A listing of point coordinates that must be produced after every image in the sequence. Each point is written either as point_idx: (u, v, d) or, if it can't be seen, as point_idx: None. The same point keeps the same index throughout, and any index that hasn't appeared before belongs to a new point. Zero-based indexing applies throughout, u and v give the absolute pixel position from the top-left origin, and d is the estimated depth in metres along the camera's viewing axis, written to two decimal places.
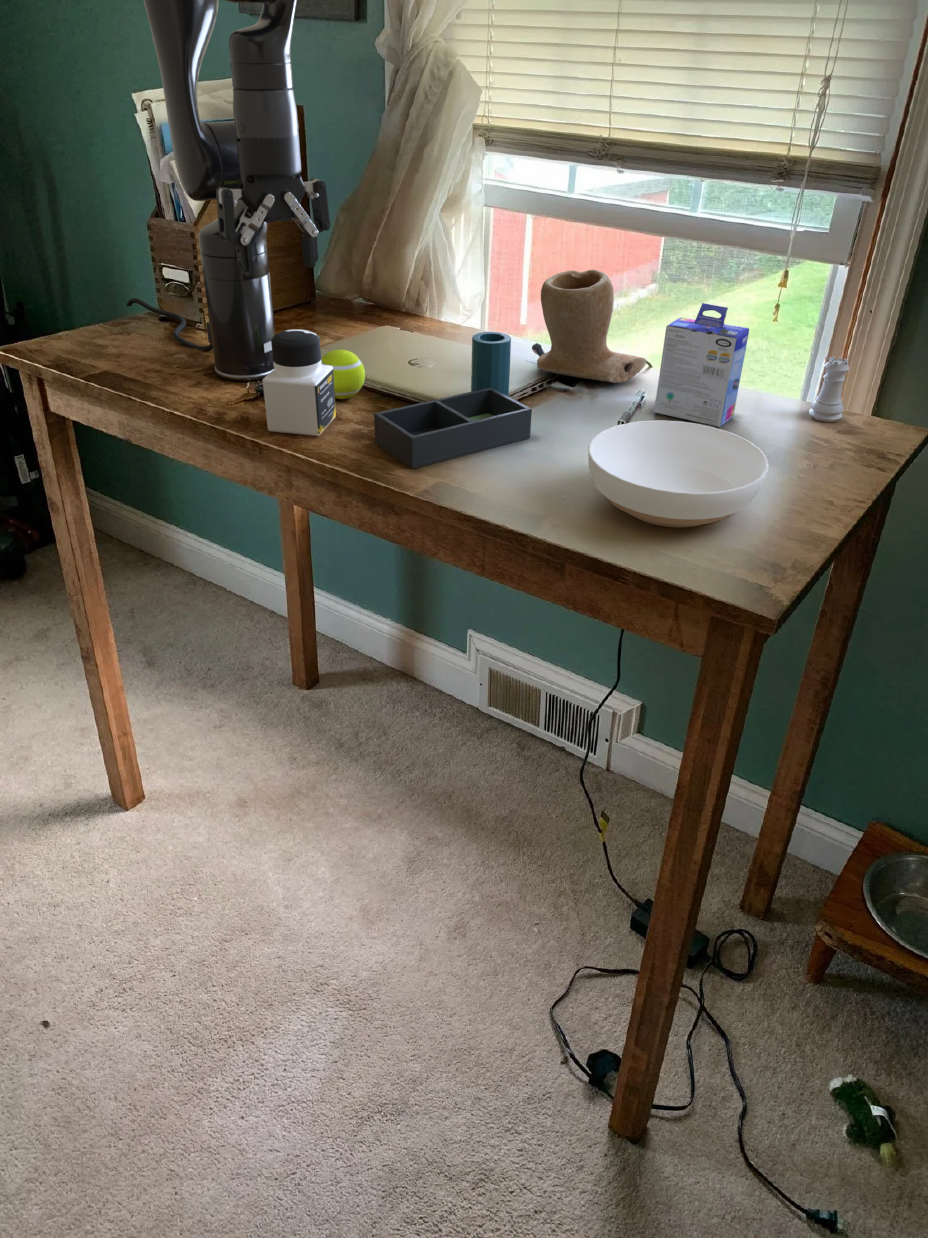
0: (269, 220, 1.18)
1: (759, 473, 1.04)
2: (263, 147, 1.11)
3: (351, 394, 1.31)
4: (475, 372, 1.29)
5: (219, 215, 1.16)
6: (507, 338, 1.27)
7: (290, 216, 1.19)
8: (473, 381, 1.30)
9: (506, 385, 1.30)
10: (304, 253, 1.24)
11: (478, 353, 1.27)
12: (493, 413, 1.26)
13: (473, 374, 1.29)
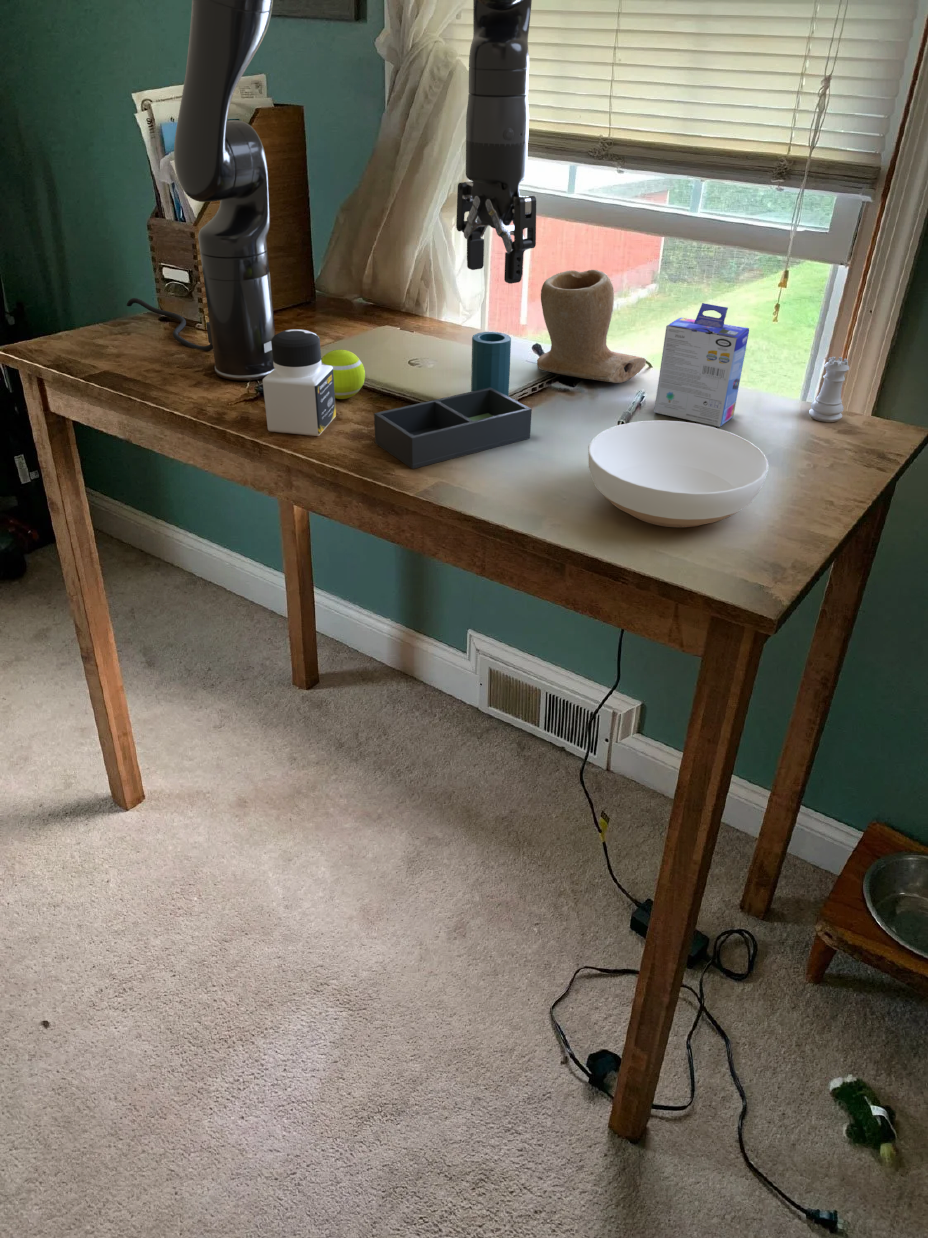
0: (483, 222, 1.20)
1: (759, 473, 1.04)
2: (467, 149, 1.15)
3: (351, 394, 1.31)
4: (475, 372, 1.29)
5: None
6: (507, 338, 1.27)
7: None
8: (473, 381, 1.30)
9: (506, 385, 1.30)
10: None
11: (478, 353, 1.27)
12: (493, 413, 1.26)
13: (473, 374, 1.29)
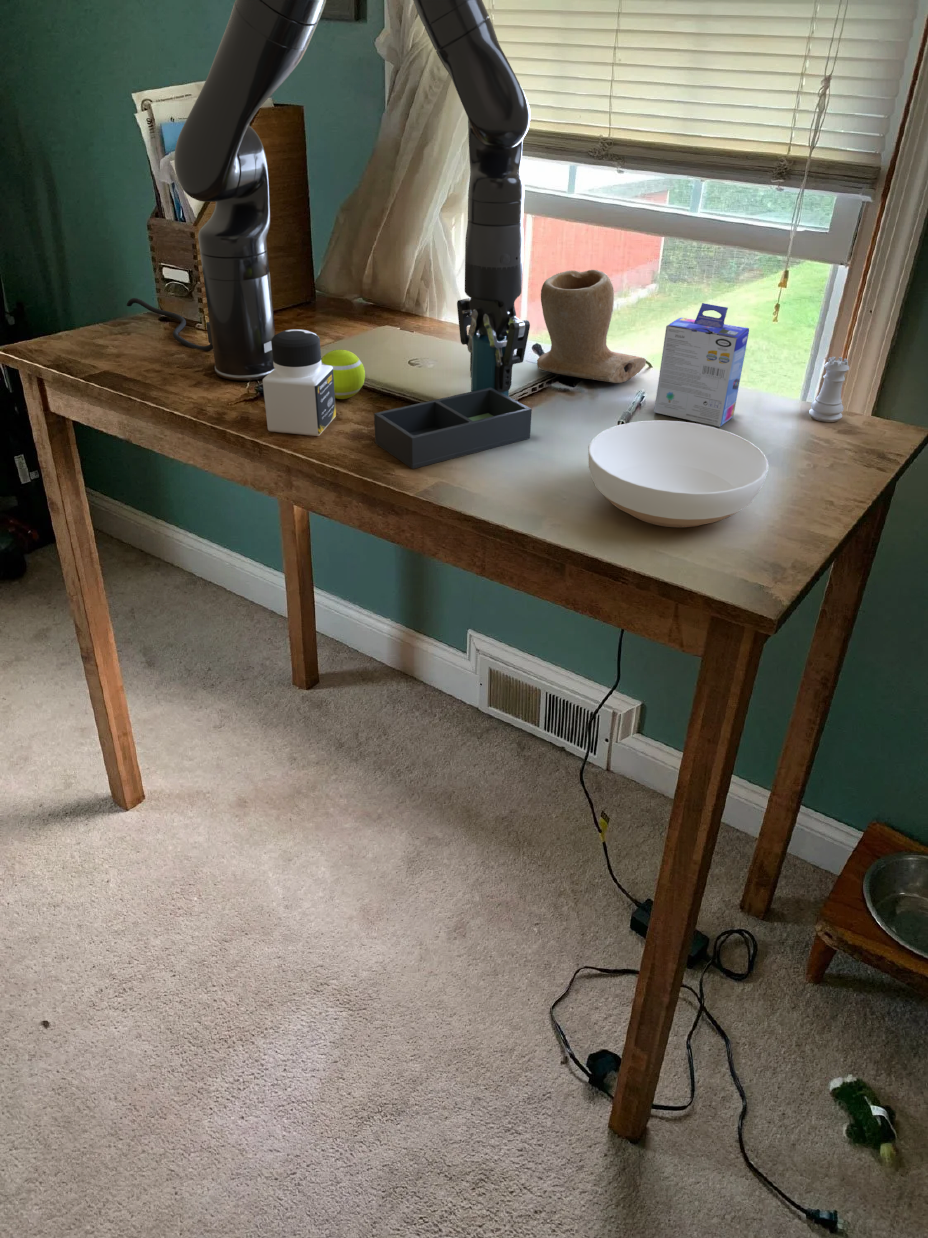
0: (481, 332, 1.28)
1: (759, 473, 1.04)
2: (465, 268, 1.23)
3: (351, 394, 1.31)
4: (475, 372, 1.29)
5: None
6: None
7: None
8: (473, 381, 1.30)
9: None
10: None
11: (478, 353, 1.27)
12: (493, 413, 1.26)
13: (473, 374, 1.29)
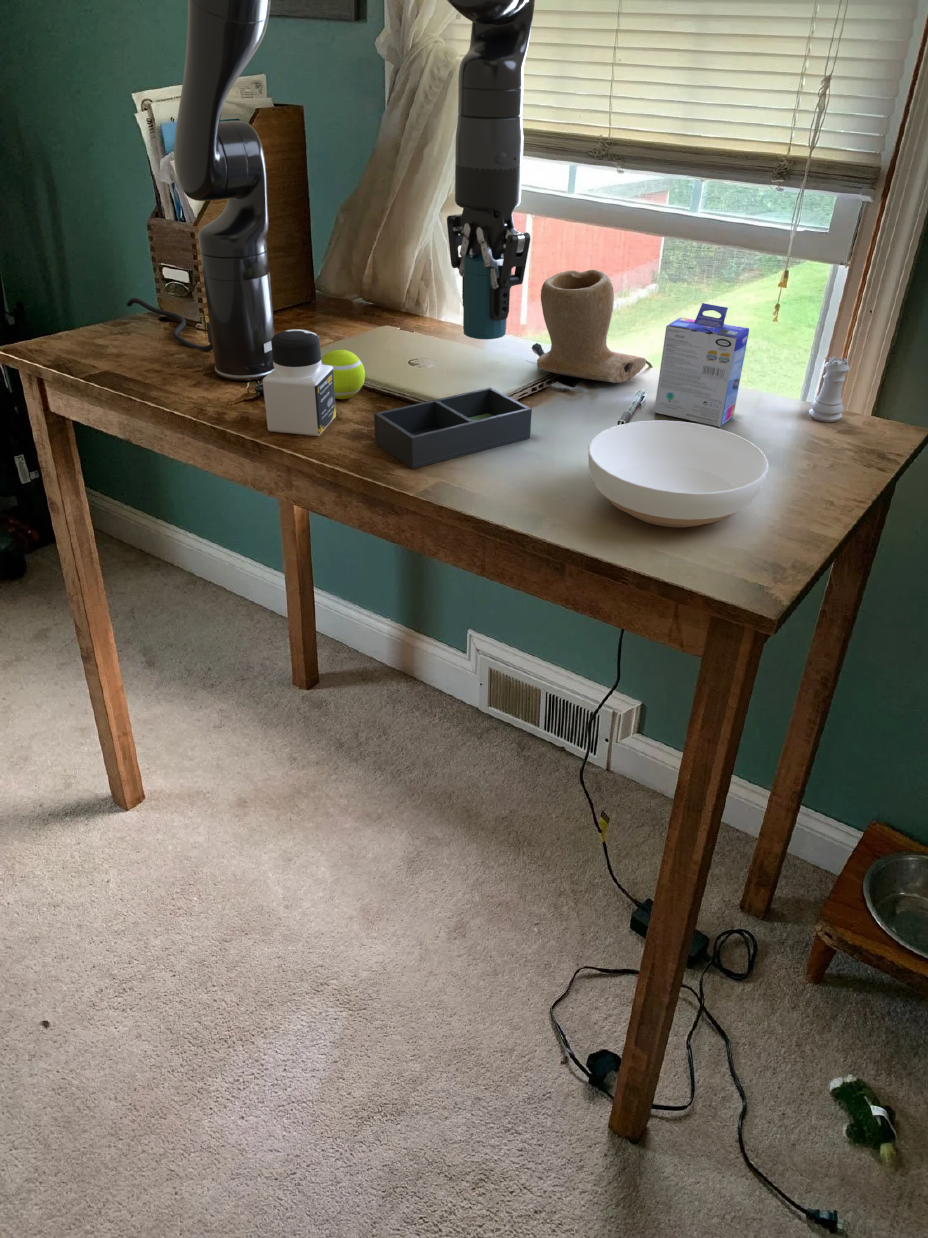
0: (474, 251, 1.11)
1: (759, 473, 1.04)
2: (456, 173, 1.06)
3: (351, 394, 1.31)
4: (467, 297, 1.13)
5: None
6: None
7: None
8: (465, 308, 1.14)
9: None
10: None
11: (471, 274, 1.11)
12: (493, 413, 1.26)
13: (465, 300, 1.13)
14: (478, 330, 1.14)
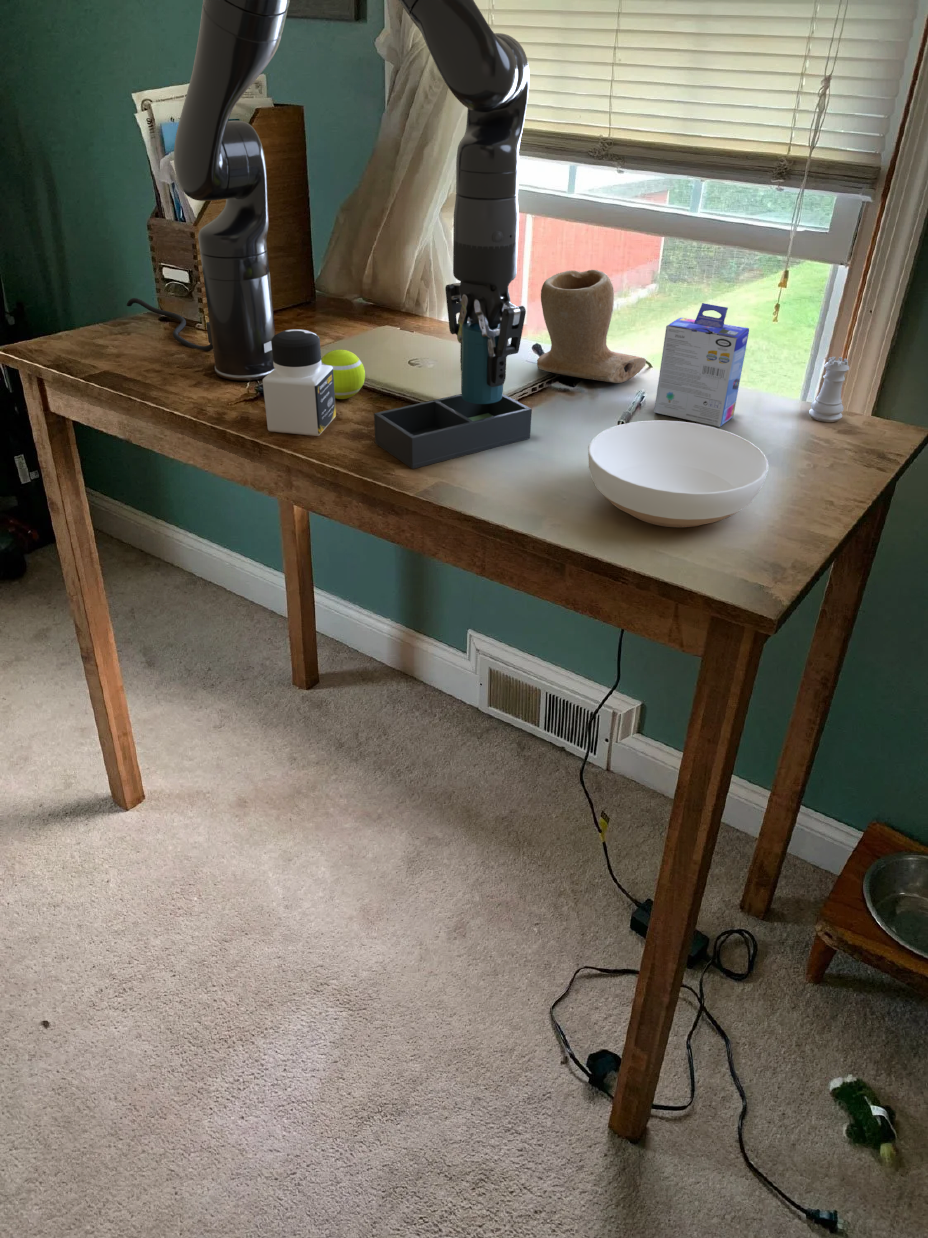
0: (472, 320, 1.15)
1: (759, 473, 1.04)
2: (454, 248, 1.10)
3: (351, 394, 1.31)
4: (465, 364, 1.16)
5: None
6: None
7: None
8: (463, 374, 1.17)
9: None
10: None
11: (469, 343, 1.14)
12: (493, 413, 1.26)
13: (463, 367, 1.17)
14: (475, 395, 1.17)
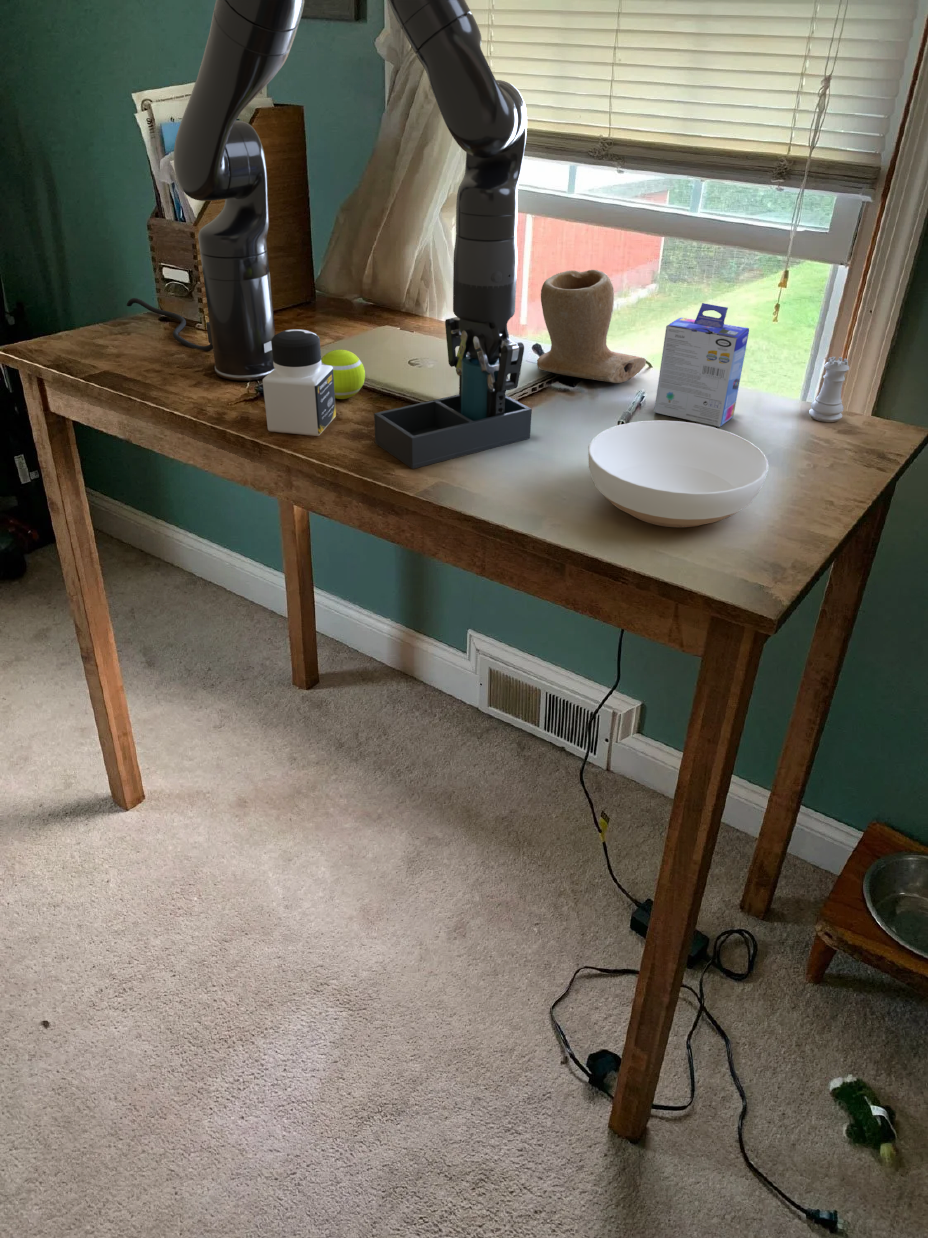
0: (471, 355, 1.18)
1: (759, 473, 1.04)
2: (454, 286, 1.12)
3: (351, 394, 1.31)
4: (465, 398, 1.19)
5: None
6: None
7: None
8: (463, 407, 1.20)
9: None
10: None
11: (468, 377, 1.17)
12: None
13: (463, 400, 1.19)
14: None
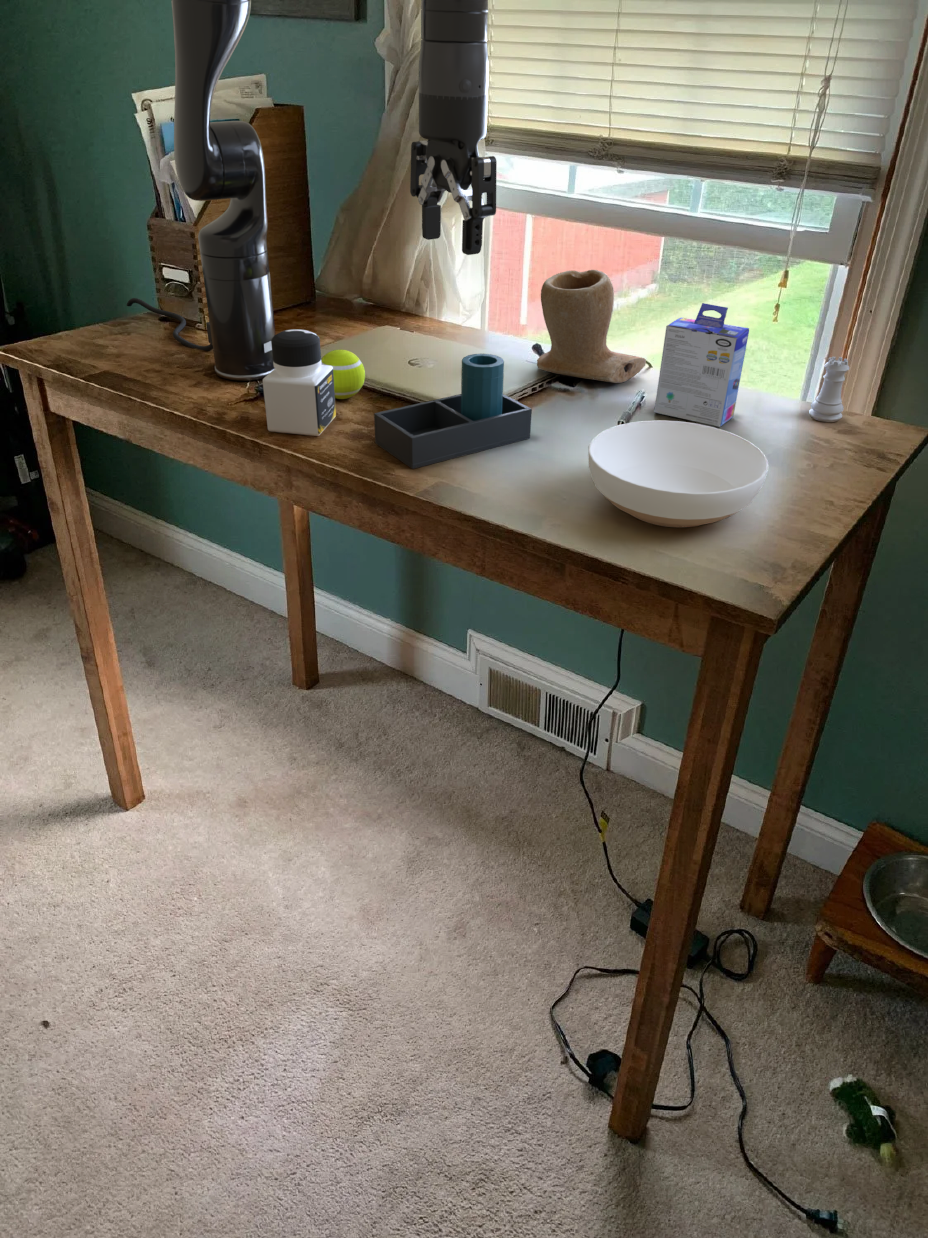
0: (439, 186, 1.08)
1: (759, 473, 1.04)
2: None
3: (351, 394, 1.31)
4: (465, 398, 1.19)
5: None
6: (500, 361, 1.17)
7: None
8: (463, 407, 1.20)
9: (499, 412, 1.20)
10: None
11: (468, 377, 1.17)
12: None
13: (463, 400, 1.19)
14: None
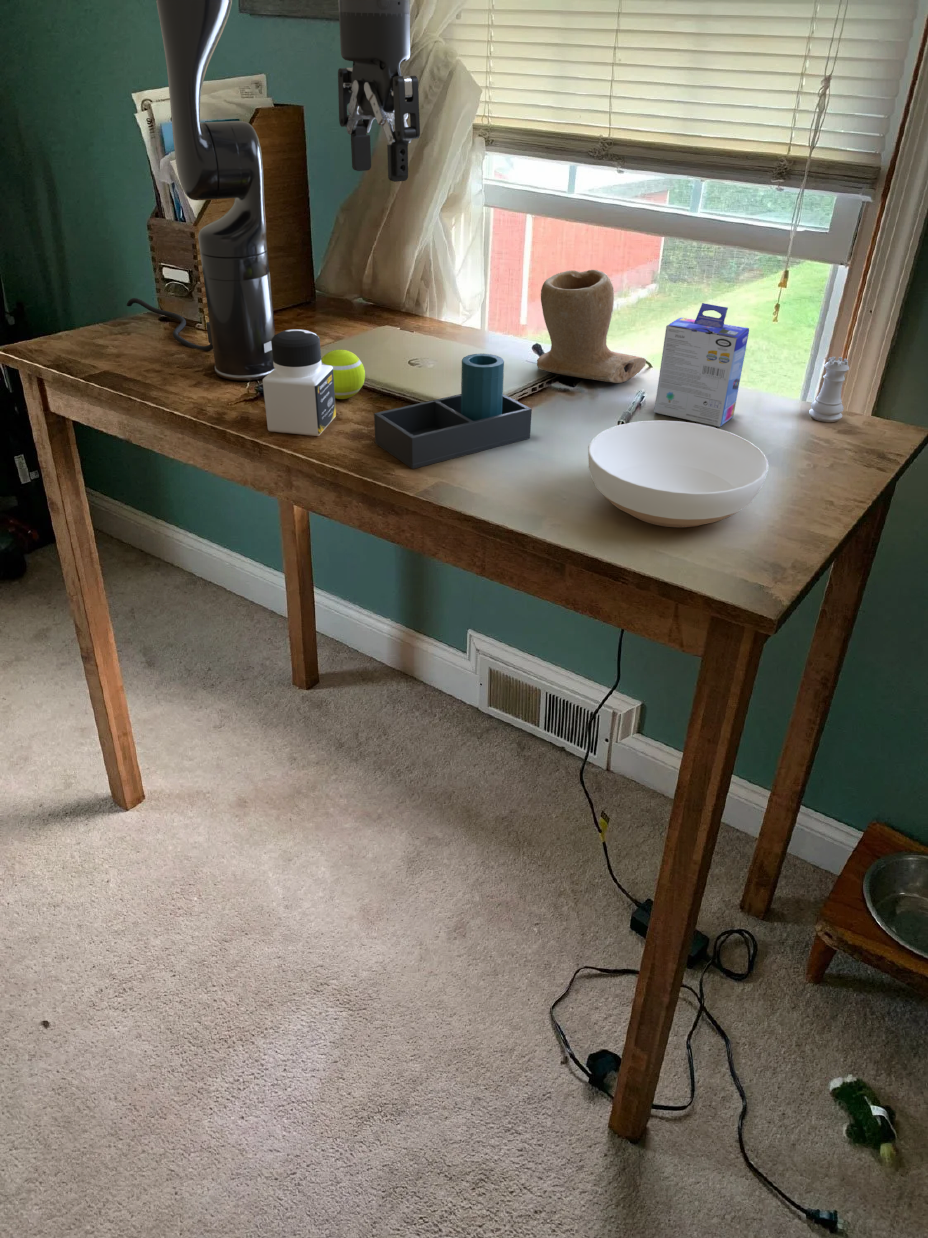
0: (365, 112, 1.06)
1: (759, 473, 1.04)
2: None
3: (351, 394, 1.31)
4: (465, 398, 1.19)
5: None
6: (500, 361, 1.17)
7: None
8: (463, 407, 1.20)
9: (499, 412, 1.20)
10: None
11: (468, 377, 1.17)
12: None
13: (463, 400, 1.19)
14: None
